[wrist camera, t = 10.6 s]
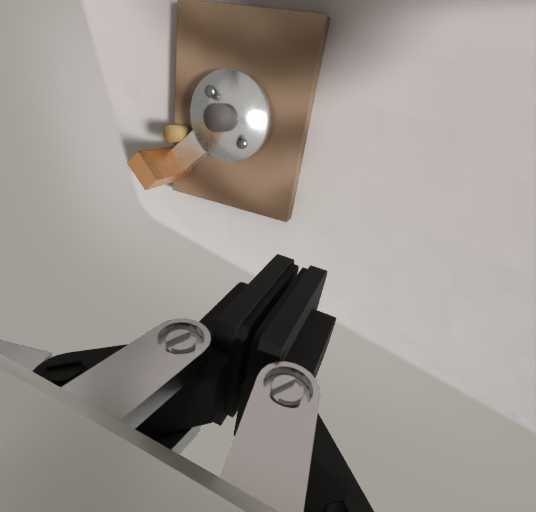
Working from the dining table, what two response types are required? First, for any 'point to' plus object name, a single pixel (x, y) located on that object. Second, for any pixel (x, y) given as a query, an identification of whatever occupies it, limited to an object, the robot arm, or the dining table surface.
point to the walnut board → (274, 82)
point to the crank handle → (205, 141)
